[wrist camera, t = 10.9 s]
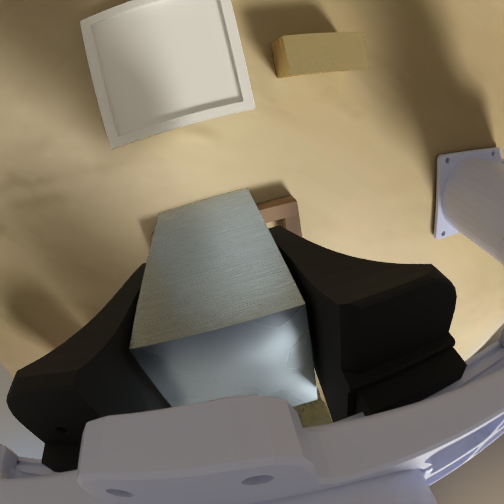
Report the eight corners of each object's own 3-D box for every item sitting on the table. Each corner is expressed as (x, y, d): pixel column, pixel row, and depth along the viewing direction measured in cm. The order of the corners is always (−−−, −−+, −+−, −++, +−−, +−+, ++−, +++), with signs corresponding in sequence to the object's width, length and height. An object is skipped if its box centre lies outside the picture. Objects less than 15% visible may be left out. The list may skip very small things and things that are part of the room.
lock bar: (341, 38, 16) (362, 32, 14) (347, 70, 18) (369, 68, 15) (270, 44, 16) (282, 35, 14) (277, 78, 17) (291, 75, 15)
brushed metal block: (247, 187, 13) (305, 304, 6) (265, 263, 15) (317, 399, 8) (159, 213, 13) (129, 349, 6) (187, 285, 15) (191, 429, 8)
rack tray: (223, -16, 14) (225, -23, 13) (252, 107, 18) (255, 108, 17) (86, 24, 13) (79, 20, 12) (116, 146, 18) (111, 149, 17)
